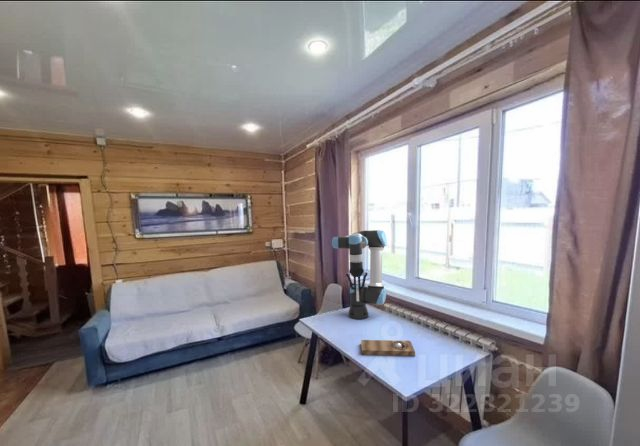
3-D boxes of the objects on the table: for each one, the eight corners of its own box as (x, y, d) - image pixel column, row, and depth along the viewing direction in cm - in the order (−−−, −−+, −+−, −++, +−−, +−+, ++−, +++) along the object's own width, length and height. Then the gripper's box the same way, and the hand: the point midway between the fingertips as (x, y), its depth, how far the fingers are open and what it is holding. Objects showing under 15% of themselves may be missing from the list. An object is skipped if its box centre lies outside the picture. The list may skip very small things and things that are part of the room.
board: (361, 354, 145) (361, 350, 145) (361, 344, 157) (361, 339, 157) (415, 356, 141) (415, 351, 141) (410, 345, 153) (410, 340, 153)
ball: (392, 345, 150) (397, 339, 150) (398, 349, 150) (402, 344, 150) (394, 348, 146) (398, 343, 146) (399, 353, 146) (404, 348, 146)
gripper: (345, 262, 154) (346, 302, 155) (367, 262, 153) (369, 302, 154) (345, 260, 162) (346, 298, 163) (366, 259, 161) (368, 298, 162)
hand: (357, 300), depth 158 cm, fingers closed
